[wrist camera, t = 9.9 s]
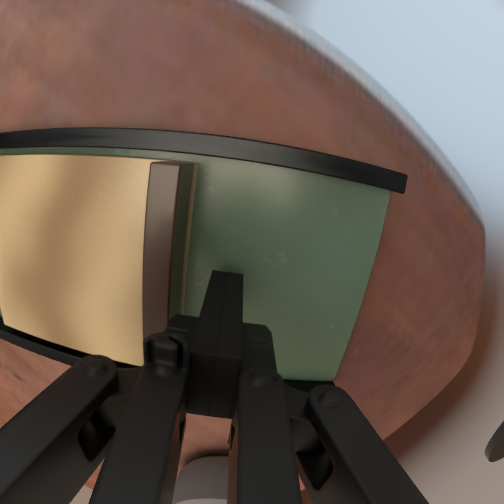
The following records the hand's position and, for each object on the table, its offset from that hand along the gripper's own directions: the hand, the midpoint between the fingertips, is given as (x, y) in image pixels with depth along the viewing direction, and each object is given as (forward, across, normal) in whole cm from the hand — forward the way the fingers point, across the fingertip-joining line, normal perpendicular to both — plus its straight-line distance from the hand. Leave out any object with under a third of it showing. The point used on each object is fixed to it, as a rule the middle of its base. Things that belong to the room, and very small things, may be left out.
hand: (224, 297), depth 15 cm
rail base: (+3, -6, 0) cm, 7 cm away
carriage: (+2, -9, 0) cm, 9 cm away
